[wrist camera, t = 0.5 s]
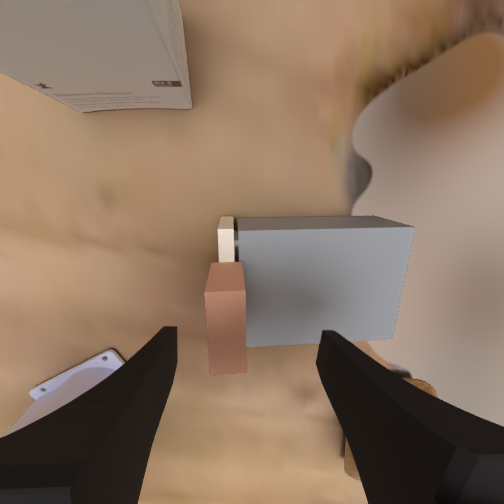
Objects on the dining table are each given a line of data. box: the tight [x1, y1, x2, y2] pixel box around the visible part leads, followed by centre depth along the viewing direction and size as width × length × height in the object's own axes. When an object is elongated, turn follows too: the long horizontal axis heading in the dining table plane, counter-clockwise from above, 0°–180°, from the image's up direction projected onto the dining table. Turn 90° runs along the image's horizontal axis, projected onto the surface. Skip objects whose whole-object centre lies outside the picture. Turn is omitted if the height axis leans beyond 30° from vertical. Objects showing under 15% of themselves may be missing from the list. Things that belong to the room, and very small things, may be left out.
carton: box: [237, 216, 415, 348], centre depth 20 cm, size 12×9×5 cm
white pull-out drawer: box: [204, 216, 247, 375], centre depth 17 cm, size 13×9×9 cm
